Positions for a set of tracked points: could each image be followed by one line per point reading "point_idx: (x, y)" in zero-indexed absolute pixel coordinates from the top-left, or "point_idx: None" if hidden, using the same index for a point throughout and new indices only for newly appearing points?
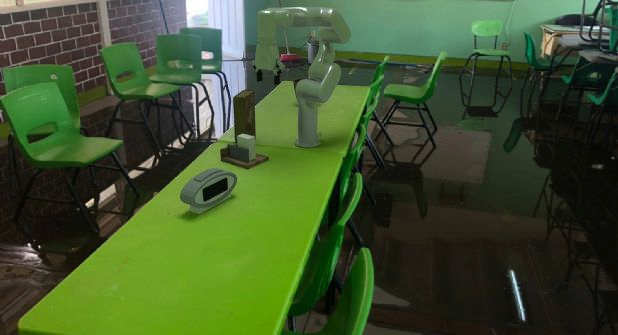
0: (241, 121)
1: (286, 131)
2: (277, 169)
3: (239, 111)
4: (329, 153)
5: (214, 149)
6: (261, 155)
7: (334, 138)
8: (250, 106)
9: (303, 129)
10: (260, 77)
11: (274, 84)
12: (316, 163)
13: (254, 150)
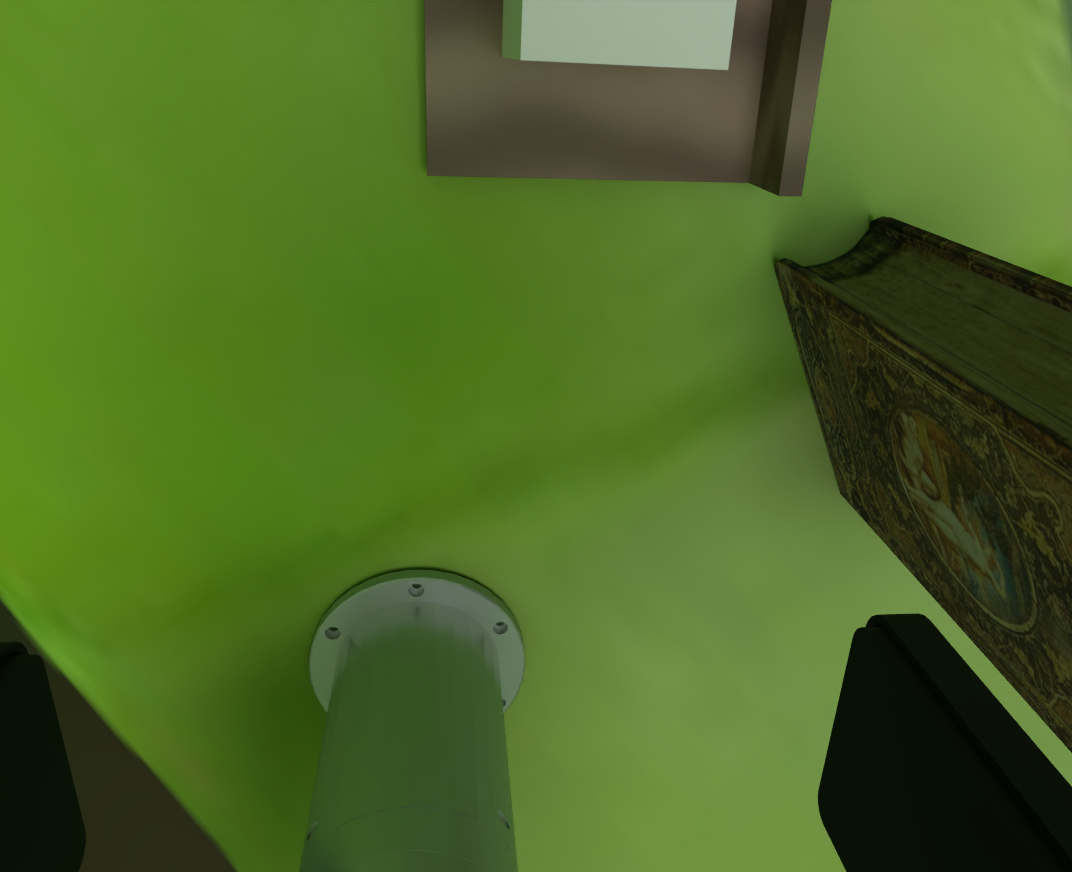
0: (961, 344)
1: (731, 755)
2: (182, 12)
3: (1065, 380)
4: (128, 600)
5: (1039, 68)
6: (505, 157)
7: None
8: (1020, 593)
9: (392, 694)
10: (895, 829)
11: (7, 644)
12: (30, 363)
13: (508, 42)
